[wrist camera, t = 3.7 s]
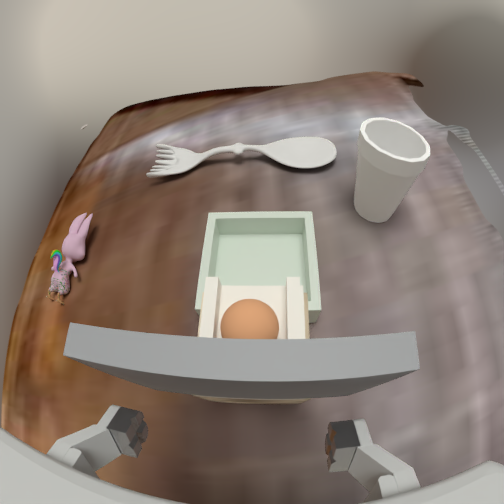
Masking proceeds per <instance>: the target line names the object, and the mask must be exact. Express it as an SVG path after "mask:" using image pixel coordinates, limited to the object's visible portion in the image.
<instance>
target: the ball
mask: <svg viewBox="0 0 504 504" xmlns="http://www.w3.org/2000/svg"><path fill="white" fill-rule="evenodd" d="M220 331H221V336H222V338H230V339H277V337H278V333H279V322H278V318H277V316H276V314H275V312H274V311H273V309H272V308H271V307H270V306H269V305H267V304H266V303H264V302H262V301H260V300H256V299H243V300H240V301H237V302H235V303H233V304H232V305H231V306H230V307H229V308H228V309H227V310H226V311H225V313H224V314H223V317H222V319H221V324H220Z"/></svg>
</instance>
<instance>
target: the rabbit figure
mask: <svg viewBox="0 0 504 504" xmlns="http://www.w3.org/2000/svg"><path fill="white" fill-rule="evenodd" d="M86 215H87V213H84V214H82V215H80V216H78V217H77V218H76V219H75V220H74V221H73V223H72V224H71V226H70V229H69V235H68V236H67V237H66V238H65V239H64V242H63V245H62V253H63V255H64V256H65V257H66V260H65V261H64V262H61V261H62V255H61V253H60V251H58V250H54V251H53V252H52V254H51V258H52V257H54V266H53V267H52V268H51V269H52V270H55V273H54V274H53V275H52V278H51V286H50V288H49V289H48V296H46V297H48V298H49V299H53V298H52V297H51V296H50V292H52V291H54V292H58V300H56V301H58V302H59V303H63V302H62V301H61V300H60V298H59V297H60V295H62V294H63V295H65V294H67V293H68V292H69V290H70V282H69V275H70V274H71V272H72V271H73V272H74V277H77V276H78V275H77V271H76V268H75V267H74V265H73V264H72V262H76V261H80V260H82V259H83V258H84V257H85V239H86V236H87V233H88V230H89V225H90V221H91V218H92V216H93V214H90V215H89V216H88V217H87V218H86V219H85V216H86ZM84 219H85V220H84ZM83 221H84V222H83ZM82 223H83V224H82ZM59 267H61V269H60V270H59V269H58V268H59ZM53 300H54V299H53ZM63 305H64V303H63Z"/></svg>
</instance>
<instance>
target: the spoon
mask: <svg viewBox="0 0 504 504" xmlns="http://www.w3.org/2000/svg"><path fill="white" fill-rule="evenodd" d="M156 147H157V148H159V149H164V150H157V151H156V152H158V153H161V154H162V155H156V156H157V157H159V158H163V159H168V160H157V161H155V162H156V163H158V164H161V165H165V166H152V167H153V168H155V169H152V170H150V171H151V173H147V174H146V175H147V176H148V177H161V176H166V175H173V174H179V173H183V172H186V171H188V170H190V169H192V168H194V167H195V166H197V165H198V164H200V163H201V162H203V161H204V160H206V159H208V158H210V157H212V156H214V155H217V154H221V153H235V154H237V155H239V154H242V153H243V152H244V151H255V152H259V153H262V154H264V155H266V156H268V157H270V158H271V159H273V160H275V161H277V162H279V163H281V164H284V165H286V166H290V167H295V168H316V167H320V166H323V165H326V164H328V163H330V162H331V161H333V160H334V159H335V157H336V154H337V153H336V148H335V146H334V144H333V143H332V142H331V141H329V140H327V139H324V138H320V137H309V136H308V137H295V138H287V139H283V140H279V141H276V142H273V143H269V144H266V145H243V144H242V143H236V144H234V145H231V146H224V147H218V148H214V149H211V150H209V151H206V152H204V153H200V154H199V153H195V152H192V151H190V150H188V149H184V148H177V147H173V146H169V145H164V144H158V145H156ZM163 154H166V155H163Z"/></svg>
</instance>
